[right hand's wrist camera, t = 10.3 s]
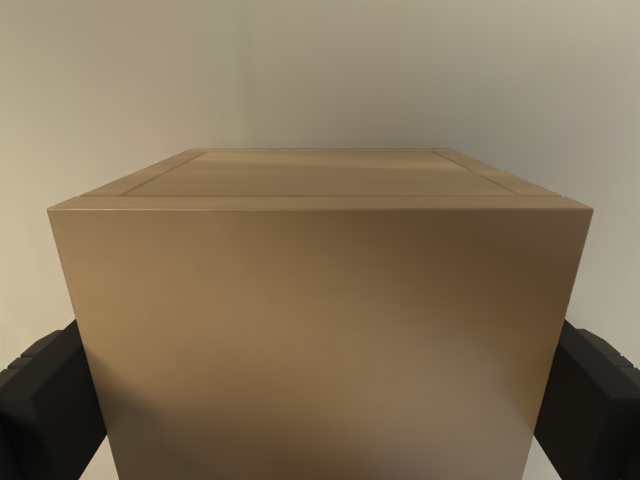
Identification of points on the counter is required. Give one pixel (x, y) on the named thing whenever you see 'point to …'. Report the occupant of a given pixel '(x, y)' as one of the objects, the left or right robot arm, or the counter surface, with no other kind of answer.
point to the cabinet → (320, 313)
